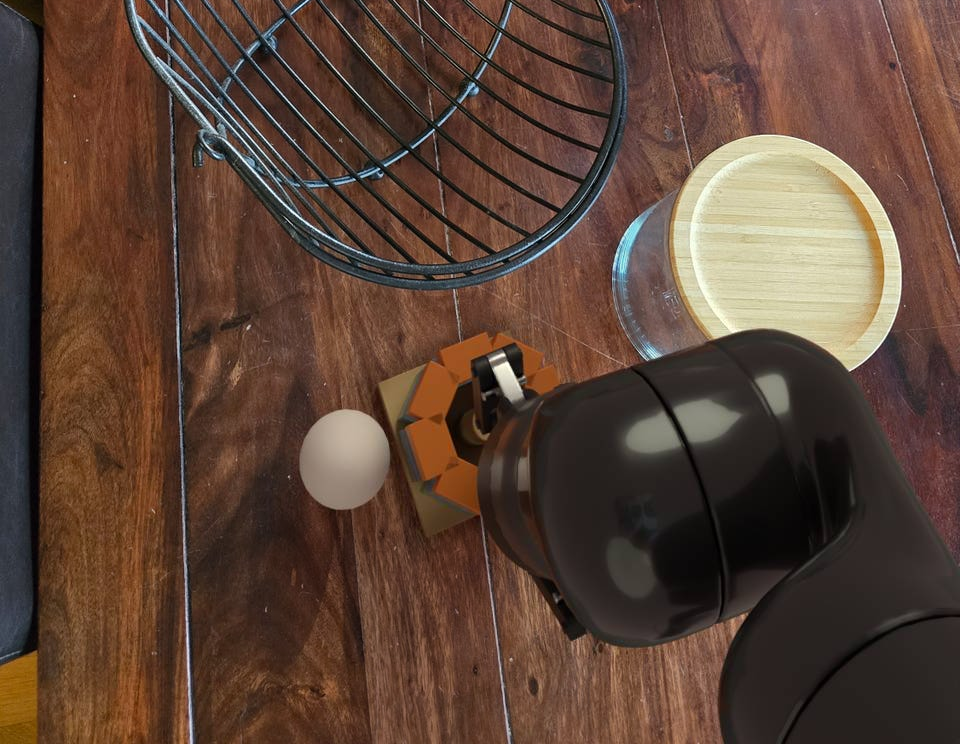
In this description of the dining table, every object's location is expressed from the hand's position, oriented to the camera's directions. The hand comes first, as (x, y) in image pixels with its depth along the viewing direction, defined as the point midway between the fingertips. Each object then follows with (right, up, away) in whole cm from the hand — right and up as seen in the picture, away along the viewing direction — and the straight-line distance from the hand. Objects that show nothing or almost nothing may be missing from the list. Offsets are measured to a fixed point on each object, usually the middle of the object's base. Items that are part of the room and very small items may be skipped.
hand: (508, 485), depth 63 cm
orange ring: (-1, +3, +1) cm, 3 cm away
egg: (-10, -2, +7) cm, 12 cm away
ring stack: (-2, -1, +8) cm, 9 cm away
